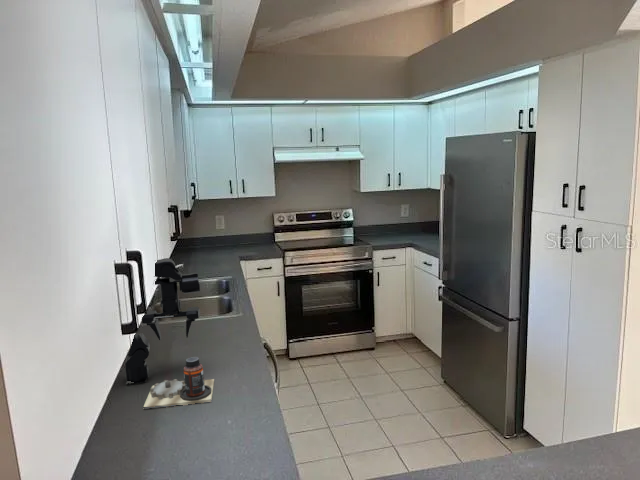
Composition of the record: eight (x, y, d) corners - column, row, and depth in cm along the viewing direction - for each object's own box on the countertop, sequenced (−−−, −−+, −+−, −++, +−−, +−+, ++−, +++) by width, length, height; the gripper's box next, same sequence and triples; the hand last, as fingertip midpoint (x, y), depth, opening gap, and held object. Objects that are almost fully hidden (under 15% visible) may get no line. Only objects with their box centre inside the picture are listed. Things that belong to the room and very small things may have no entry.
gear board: (143, 409, 145) (142, 397, 145) (152, 388, 159) (151, 377, 159) (211, 402, 148) (210, 390, 147) (214, 381, 162) (213, 370, 162)
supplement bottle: (209, 391, 153) (206, 357, 151) (194, 399, 148) (191, 364, 146) (196, 387, 156) (193, 354, 154) (181, 394, 151) (178, 360, 150)
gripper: (199, 287, 175) (203, 328, 177) (146, 291, 172) (150, 333, 175) (196, 295, 164) (200, 339, 166) (139, 300, 161) (144, 344, 164)
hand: (173, 338), depth 168 cm, fingers open, 9 cm apart
